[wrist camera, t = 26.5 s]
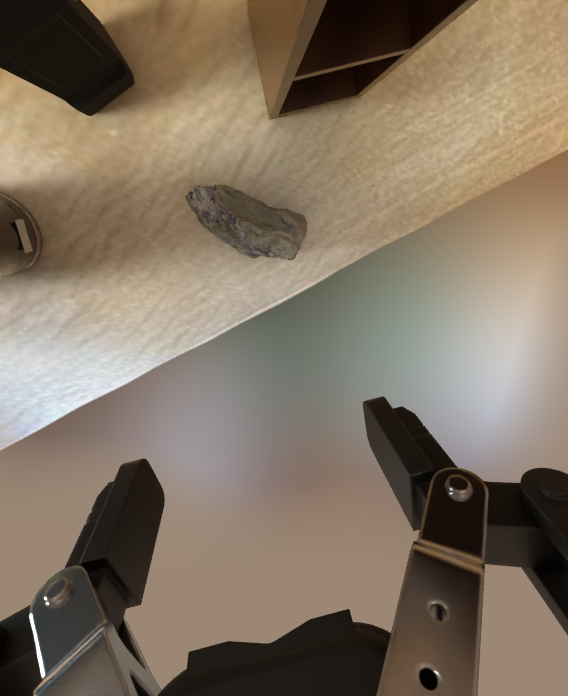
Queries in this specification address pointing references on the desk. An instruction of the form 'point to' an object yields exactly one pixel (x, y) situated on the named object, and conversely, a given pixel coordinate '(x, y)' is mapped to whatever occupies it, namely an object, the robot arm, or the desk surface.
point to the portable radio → (62, 52)
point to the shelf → (338, 45)
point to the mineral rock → (248, 222)
